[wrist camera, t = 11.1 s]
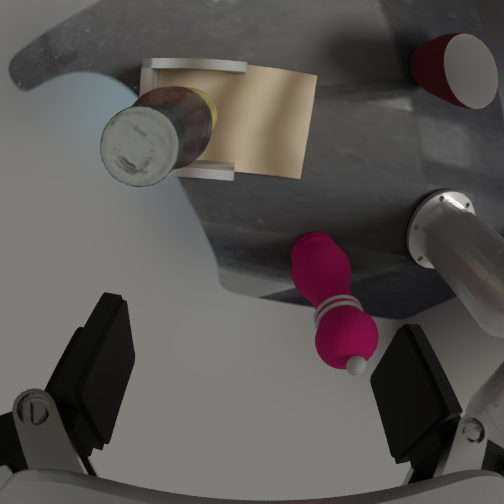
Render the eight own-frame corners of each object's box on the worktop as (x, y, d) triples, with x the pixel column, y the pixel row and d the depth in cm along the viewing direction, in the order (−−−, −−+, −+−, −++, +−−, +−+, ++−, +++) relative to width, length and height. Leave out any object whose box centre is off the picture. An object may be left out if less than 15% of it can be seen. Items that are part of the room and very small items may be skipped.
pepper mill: (286, 276, 43) (312, 401, 25) (287, 228, 39) (323, 350, 22) (336, 273, 43) (385, 389, 26) (342, 226, 39) (408, 338, 22)
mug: (425, 15, 25) (474, 5, 16) (464, 60, 27) (515, 64, 19) (383, 67, 29) (429, 66, 20) (426, 111, 31) (476, 126, 23)
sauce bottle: (175, 151, 32) (106, 234, 15) (151, 102, 29) (51, 132, 12) (230, 128, 31) (218, 184, 14) (207, 76, 28) (163, 63, 11)
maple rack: (314, 75, 30) (325, 74, 26) (298, 175, 36) (306, 188, 32) (150, 61, 28) (137, 58, 24) (144, 162, 34) (132, 174, 30)
